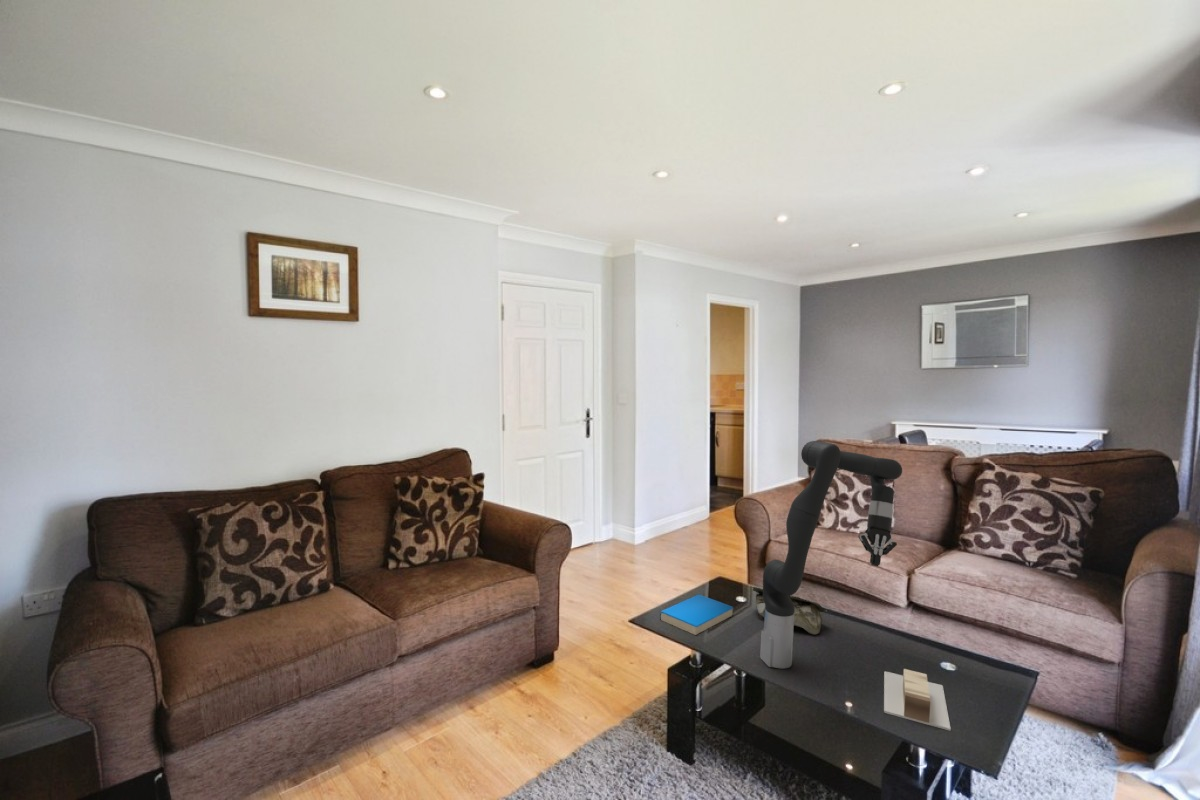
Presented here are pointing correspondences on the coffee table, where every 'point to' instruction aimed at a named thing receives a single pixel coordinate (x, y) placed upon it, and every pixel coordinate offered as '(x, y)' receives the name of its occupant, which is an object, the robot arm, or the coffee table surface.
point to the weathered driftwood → (798, 612)
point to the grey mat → (896, 706)
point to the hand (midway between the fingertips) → (874, 565)
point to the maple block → (916, 695)
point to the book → (696, 614)
